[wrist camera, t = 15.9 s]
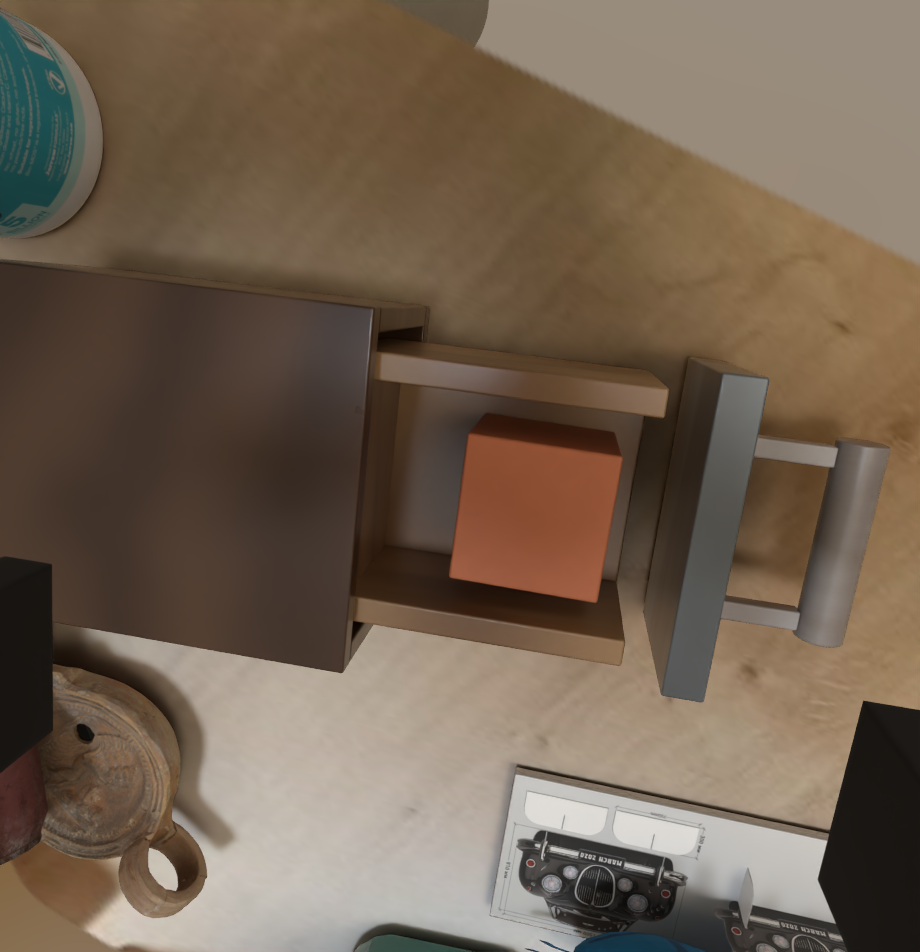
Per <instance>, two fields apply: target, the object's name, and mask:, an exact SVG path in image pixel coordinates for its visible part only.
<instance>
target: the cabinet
mask: <svg viewBox="0 0 920 952" xmlns="http://www.w3.org/2000/svg"><path fill="white" fill-rule="evenodd" d="M429 312H430V307H429V306H421V305H413V304H405V303H396V302H388V301H380V300H371V299H363V298H355V297H346V296H338V295H330V294H321V293H313V292H305V291H296V290H288V289H280V288H271V287H263V286H255V285H246V284H238V283H230V282H221V281H213V280H205V279H196V278H188V277H180V276H171V275H163V274H155V273H146V272H138V271H130V270H121V269H113V268H104V267H91V266H78V265H66V264H53V263H41V262H28V261H16V260H3V259H0V558H1V557H4V556H7V557H13V558H19V559H25V560H31V561H37V562H43V563H49V564H52V622H56V623H62V624H68V625H73V626H79V627H85V628H90V629H96V630H101V631H107V632H113V633H118V634H124V635H130V636H135V637H141V638H146V639H152V640H158V641H163V642H169V643H175V644H180V645H186V646H191V647H197V648H203V649H208V650H214V651H220V652H225V653H231V654H236V655H242V656H248V657H253V658H259V659H264V660H270V661H276V662H281V663H287V664H293V665H298V666H304V667H309V668H315V669H321V670H326V671H332V672H338V673H343V672H344V670H345V668H346V667H347V665H348V664H349V662H350V660H351V659H352V657H353V656H354V654H355V652H356V651H357V649H358V648H359V646H360V645H361V643H362V641H363V640H364V638H365V637H366V635H367V634H368V632H369V630H370V629H371V627H372V626H373V624H369V623H363V622H357V621H353V613H354V602H355V591H356V580H357V568H358V557H359V546H360V535H361V523H362V512H363V501H364V489H365V478H366V467H367V456H368V444H369V433H370V422H371V410H372V399H373V388H374V377H375V365H376V354H377V343H378V340H381V339H387V338H392V339H400V340H408V341H416V342H424V343H426V341H427V331H428V322H429Z"/></svg>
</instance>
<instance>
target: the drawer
mask: <svg viewBox="0 0 920 952" xmlns="http://www.w3.org/2000/svg"><path fill="white" fill-rule="evenodd" d="M768 385H769V378H767V377H764V376H762V375H759V374H757V373H754V372H751V371H749V370H746V369H743V368H741V367H738V366H736V365H733V364H730V363H728V362H725V361H719V360H711V359H703V358H694V357H690V358H689V360H688V366H687V371H686V377H685V383H684V388H683V394H682V399H681V405H680V410H679V416H678V421H677V427H676V433H675V438H674V444H673V449H672V455H671V460H670V466H669V471H668V477H667V483H666V488H665V494H664V499H663V505H662V510H661V516H660V521H659V527H658V533H657V538H656V544H655V549H654V555H653V560H652V566H651V571H650V577H649V583H648V588H647V594H646V599H645V605H644V610H643V613H644V618H645V622H646V627H647V632H648V636H649V641H650V645H651V650H652V655H653V659H654V664H655V669H656V673H657V678H658V682H659V687H660V692H661V695H663V696H667V697H673V698H679V699H685V700H691V701H696V702H703V701H704V698H705V693H706V688H707V683H708V678H709V673H710V668H711V664H712V659H713V654H714V649H715V644H716V639H717V634H718V629H719V624H720V620H721V619H726V620H732V621H738V622H745V623H751V624H757V625H763V626H770V627H776V628H782V629H788V630H793V633H794V635H795V636H797V637H798V638H800V639H801V640H803V641H806V642H808V643H811V644H814V645H817V646H822V647H829V648H835V647H840V646H841V645H842V644H843V640H844V636H845V632H846V628H847V624H848V620H849V616H850V612H851V608H852V604H853V600H854V596H855V592H856V587H857V583H858V579H859V575H860V571H861V567H862V563H863V559H864V555H865V551H866V547H867V543H868V539H869V535H870V530H871V526H872V522H873V518H874V514H875V510H876V506H877V502H878V498H879V494H880V490H881V486H882V482H883V477H884V473H885V469H886V465H887V461H888V457H889V453H890V447H889V446H887V445H884V444H880V443H876V442H872V441H866V440H860V439H853V438H837V439H836V442H835V446H833V445H832V444H825V443H818V442H810V441H803V440H795V439H788V438H780V437H773V436H765V435H758V434H759V429H760V424H761V419H762V415H763V410H764V405H765V400H766V395H767V390H768ZM668 396H669V389H668V388H667V387H666V386H665V385H664V384H663V383H662V382H661V381H659V380H658V379H657V378H656V377H655V376H654V375H653V374H652V373H651V372H649V371H647V370H639V369H631V368H623V367H615V366H607V365H599V364H591V363H583V362H575V361H567V360H559V359H551V358H543V357H535V356H527V355H519V354H511V353H504V352H496V351H488V350H480V349H472V348H464V347H456V346H448V345H440V344H432V343H424V342H416V341H408V340H400V339H392V338H387V339H381V340H378V343H377V354H376V365H375V377H374V388H373V399H372V410H371V422H370V433H369V444H368V456H367V467H366V478H365V489H364V501H363V512H362V523H361V535H360V546H359V557H358V568H357V580H356V591H355V602H354V613H353V621H357V622H363V623H369V624H374V625H380V626H386V627H392V628H398V629H404V630H410V631H416V632H422V633H428V634H433V635H439V636H445V637H451V638H457V639H463V640H469V641H475V642H481V643H487V644H492V645H498V646H504V647H510V648H516V649H522V650H528V651H534V652H540V653H546V654H551V655H557V656H563V657H569V658H575V659H581V660H587V661H593V662H599V663H605V664H610V665H616V666H620V665H621V663H622V657H623V652H624V646H625V639H624V632H623V625H622V618H621V611H620V604H619V597H618V590H617V583H616V582H617V576H618V570H619V564H620V558H621V552H622V547H623V541H624V535H625V529H626V523H627V517H628V511H629V505H630V499H631V494H632V488H633V482H634V476H635V470H636V464H637V458H638V452H639V447H640V441H641V435H642V429H643V423H644V417H645V416H650V417H657V418H664V417H665V413H666V407H667V402H668ZM486 413H490V414H497V415H504V416H510V417H517V418H524V419H531V420H537V421H544V422H551V423H557V424H564V425H571V426H577V427H584V428H591V429H598V430H604V431H611V432H615V434H616V437H617V440H618V444H619V447H620V450H621V454H622V457H623V462H622V468H621V473H620V479H619V485H618V490H617V496H616V501H615V507H614V512H613V518H612V523H611V529H610V534H609V540H608V546H607V551H606V557H605V562H604V568H603V573H602V579H601V584H600V590H599V595H598V601H597V602H596V603H593V602H587V601H581V600H575V599H570V598H564V597H558V596H552V595H547V594H541V593H535V592H529V591H524V590H518V589H512V588H506V587H501V586H495V585H489V584H484V583H478V582H472V581H466V580H461V579H455V578H451V577H450V576H449V571H450V563H451V556H452V548H453V541H454V533H455V525H456V518H457V510H458V503H459V495H460V488H461V480H462V472H463V465H464V457H465V450H466V442H467V435H468V434H469V432H470V431H471V430H472V429H473V428H474V427H475V425H476V424H477V423H478V422H479V421H480V419H481V418H482V417H483V416H484V415H485V414H486ZM754 457H755V458H763V459H770V460H777V461H785V462H792V463H799V464H807V465H814V466H821V467H829V473H828V477H827V481H826V486H825V490H824V494H823V499H822V503H821V508H820V512H819V516H818V521H817V525H816V529H815V534H814V538H813V543H812V547H811V551H810V556H809V560H808V564H807V569H806V573H805V578H804V582H803V586H802V591H801V595H800V599H799V604H798V608H796V607H795V606H790V605H784V604H778V603H771V602H765V601H759V600H752V599H746V598H739V597H733V596H727V595H726V590H727V585H728V581H729V576H730V571H731V566H732V561H733V556H734V551H735V546H736V541H737V537H738V532H739V527H740V522H741V517H742V512H743V507H744V502H745V498H746V493H747V488H748V483H749V478H750V473H751V468H752V463H753V458H754Z"/></svg>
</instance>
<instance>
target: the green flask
mask: <svg viewBox="0 0 920 952" xmlns="http://www.w3.org/2000/svg"><path fill="white" fill-rule="evenodd" d="M355 952H474V951H469V950H464V949H460V948H455V947H450V946H446V945H441V944H436V943H432V942H427V941H422V940H417V939H413V938H408V937H403V936H399V935H394V934H390V935H382V936H375V937H373V938H372V939H370V940H368V941H366V942H365V943H363V944H361V945H360V946H359V947H358V948H356V950H355Z"/></svg>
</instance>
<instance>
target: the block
mask: <svg viewBox="0 0 920 952" xmlns="http://www.w3.org/2000/svg"><path fill="white" fill-rule="evenodd" d="M622 462H623V457H622V454H621V450H620V447H619V444H618V440H617V437H616V434H615V432H611V431H604V430H598V429H591V428H584V427H577V426H571V425H564V424H557V423H551V422H544V421H537V420H531V419H524V418H517V417H510V416H504V415H497V414H490V413H486V414H485V415H484V416H483V417H482V418H481V419H480V421H479V422H478V423H477V424H476V425H475V427H474V428H473V429H472V430H471V431H470V432H469V434H468V435H467V442H466V450H465V457H464V465H463V472H462V480H461V488H460V495H459V503H458V510H457V518H456V525H455V533H454V541H453V548H452V556H451V563H450V571H449V576H450V577H451V578H455V579H461V580H466V581H472V582H478V583H484V584H489V585H495V586H501V587H506V588H512V589H518V590H524V591H529V592H535V593H541V594H547V595H552V596H558V597H564V598H570V599H575V600H581V601H587V602H593V603H596V602H597V601H598V595H599V590H600V584H601V579H602V573H603V568H604V562H605V557H606V551H607V546H608V540H609V534H610V529H611V523H612V518H613V512H614V507H615V501H616V496H617V490H618V485H619V479H620V473H621V468H622Z"/></svg>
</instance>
